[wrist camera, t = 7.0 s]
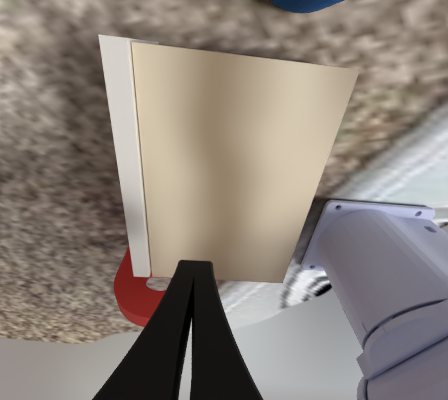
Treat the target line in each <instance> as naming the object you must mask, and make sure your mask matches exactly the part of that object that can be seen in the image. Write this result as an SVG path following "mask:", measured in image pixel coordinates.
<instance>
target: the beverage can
mask: <svg viewBox="0 0 448 400" xmlns="http://www.w3.org/2000/svg"><path fill="white" fill-rule="evenodd" d="M270 1H271V2H272V3H273V4H275V5H276V6H278V7H280V8H282V9H284V10H286V11H290V12H294V13H310V12H314V11H318V10H321V9H323V8H326V7H328V6H331V5H334V4H336V3H339V2H341V1H344V0H270Z"/></svg>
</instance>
